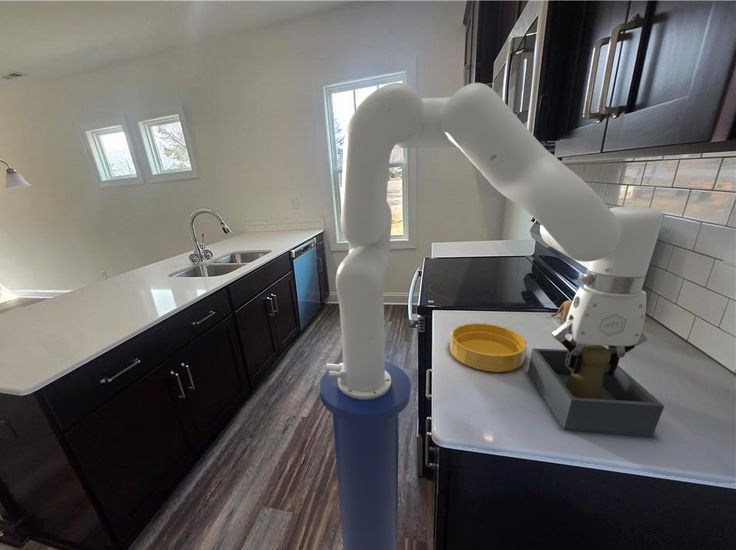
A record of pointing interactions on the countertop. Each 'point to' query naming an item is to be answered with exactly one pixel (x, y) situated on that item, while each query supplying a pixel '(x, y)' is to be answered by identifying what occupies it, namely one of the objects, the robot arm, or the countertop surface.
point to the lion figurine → (566, 310)
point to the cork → (589, 373)
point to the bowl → (488, 347)
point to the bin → (606, 415)
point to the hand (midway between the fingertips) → (588, 369)
